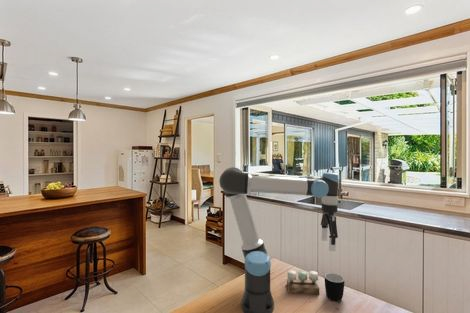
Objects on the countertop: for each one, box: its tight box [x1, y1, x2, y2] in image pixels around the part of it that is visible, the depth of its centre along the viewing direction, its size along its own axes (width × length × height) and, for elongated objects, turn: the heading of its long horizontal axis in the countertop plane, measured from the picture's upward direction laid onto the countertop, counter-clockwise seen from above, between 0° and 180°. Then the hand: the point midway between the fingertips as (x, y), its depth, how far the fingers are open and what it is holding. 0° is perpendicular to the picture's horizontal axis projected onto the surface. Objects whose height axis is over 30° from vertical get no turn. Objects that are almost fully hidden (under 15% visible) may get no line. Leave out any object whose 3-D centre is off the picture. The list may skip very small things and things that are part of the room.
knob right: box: [308, 270, 319, 284], centre depth 128 cm, size 4×4×5 cm
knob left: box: [287, 269, 297, 283], centre depth 129 cm, size 4×4×5 cm
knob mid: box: [297, 270, 308, 284], centre depth 129 cm, size 4×4×5 cm
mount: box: [286, 278, 320, 295], centre depth 129 cm, size 15×8×3 cm, turn 86°
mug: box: [324, 272, 345, 302], centre depth 123 cm, size 12×9×10 cm
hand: (328, 245), depth 126 cm, fingers open, 13 cm apart
